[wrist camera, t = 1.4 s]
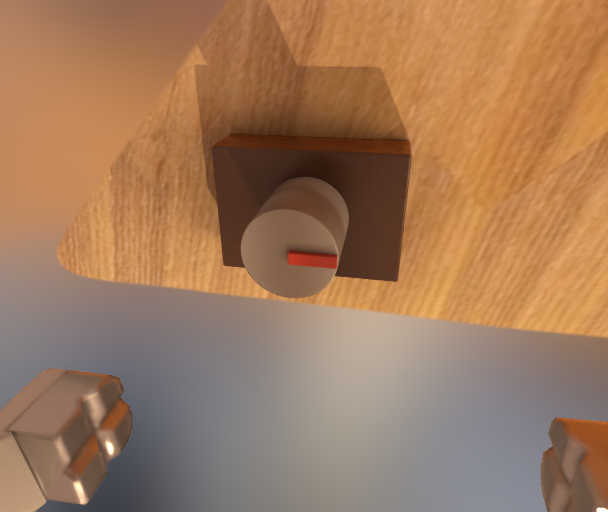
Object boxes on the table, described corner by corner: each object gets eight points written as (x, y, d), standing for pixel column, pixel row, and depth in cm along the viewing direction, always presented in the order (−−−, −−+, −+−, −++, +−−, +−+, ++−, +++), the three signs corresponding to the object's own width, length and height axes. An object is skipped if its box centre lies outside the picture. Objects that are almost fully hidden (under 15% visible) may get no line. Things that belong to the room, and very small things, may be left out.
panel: (239, 244, 28) (223, 266, 26) (230, 133, 25) (210, 146, 22) (397, 257, 27) (397, 282, 24) (410, 140, 23) (411, 154, 21)
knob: (268, 250, 25) (241, 297, 20) (264, 174, 22) (234, 207, 18) (347, 257, 24) (336, 307, 20) (351, 178, 22) (339, 215, 18)
